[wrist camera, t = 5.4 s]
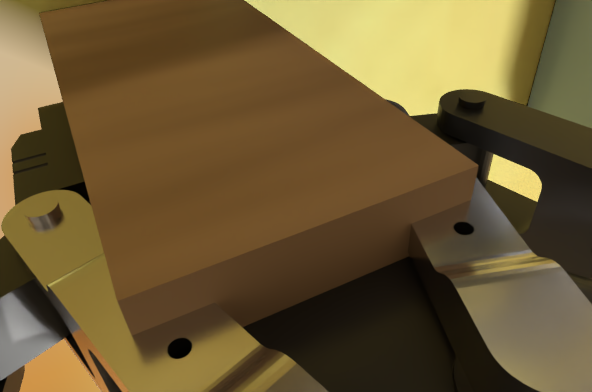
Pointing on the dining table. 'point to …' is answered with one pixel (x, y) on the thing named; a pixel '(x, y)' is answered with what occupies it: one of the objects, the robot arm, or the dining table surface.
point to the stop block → (236, 158)
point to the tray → (566, 64)
